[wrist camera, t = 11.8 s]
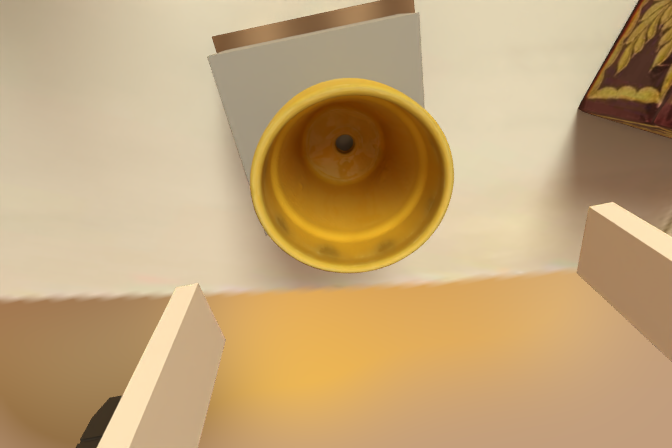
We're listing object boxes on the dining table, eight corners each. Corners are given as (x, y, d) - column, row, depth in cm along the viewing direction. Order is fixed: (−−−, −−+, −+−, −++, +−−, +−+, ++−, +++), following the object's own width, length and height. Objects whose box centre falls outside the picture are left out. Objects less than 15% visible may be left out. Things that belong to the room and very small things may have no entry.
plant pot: (364, 30, 23) (390, 30, 15) (435, 157, 28) (488, 214, 19) (242, 123, 26) (203, 169, 17) (325, 226, 30) (327, 304, 21)
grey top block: (272, 204, 36) (266, 235, 30) (225, 50, 29) (207, 56, 23) (412, 176, 35) (429, 204, 30) (398, 13, 28) (419, 12, 23)
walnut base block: (273, 188, 41) (267, 213, 36) (227, 34, 33) (211, 36, 28) (410, 161, 41) (425, 182, 36) (396, -3, 33) (413, -7, 28)
